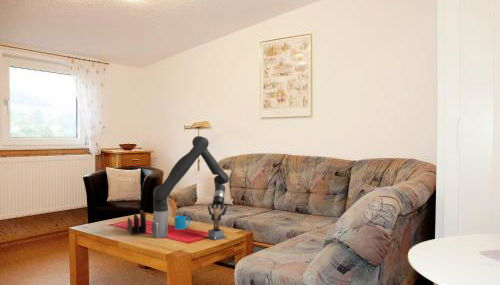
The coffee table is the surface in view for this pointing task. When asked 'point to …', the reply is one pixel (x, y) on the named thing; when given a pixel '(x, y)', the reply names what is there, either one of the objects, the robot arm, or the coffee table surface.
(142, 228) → the letter holder
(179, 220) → the mug
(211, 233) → the grey square block
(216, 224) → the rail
